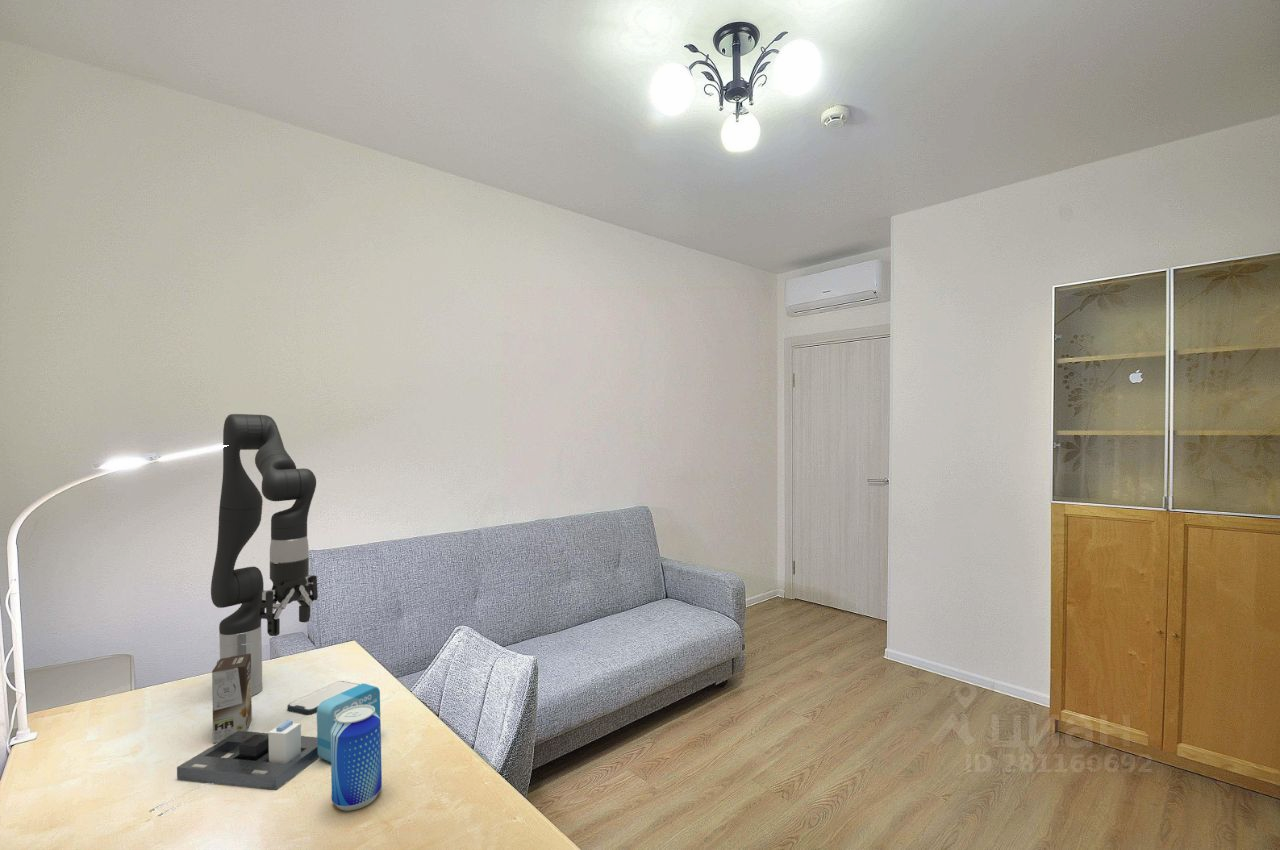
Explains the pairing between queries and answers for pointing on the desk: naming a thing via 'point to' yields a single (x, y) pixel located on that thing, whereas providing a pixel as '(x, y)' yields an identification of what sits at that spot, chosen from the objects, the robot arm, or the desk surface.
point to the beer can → (356, 757)
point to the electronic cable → (177, 805)
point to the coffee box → (231, 696)
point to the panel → (246, 762)
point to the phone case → (318, 698)
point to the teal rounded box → (335, 705)
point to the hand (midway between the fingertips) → (289, 628)
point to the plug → (284, 742)
